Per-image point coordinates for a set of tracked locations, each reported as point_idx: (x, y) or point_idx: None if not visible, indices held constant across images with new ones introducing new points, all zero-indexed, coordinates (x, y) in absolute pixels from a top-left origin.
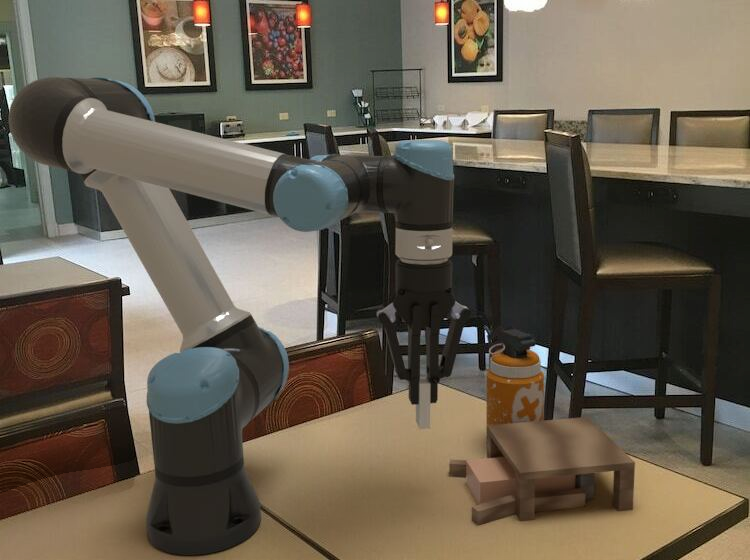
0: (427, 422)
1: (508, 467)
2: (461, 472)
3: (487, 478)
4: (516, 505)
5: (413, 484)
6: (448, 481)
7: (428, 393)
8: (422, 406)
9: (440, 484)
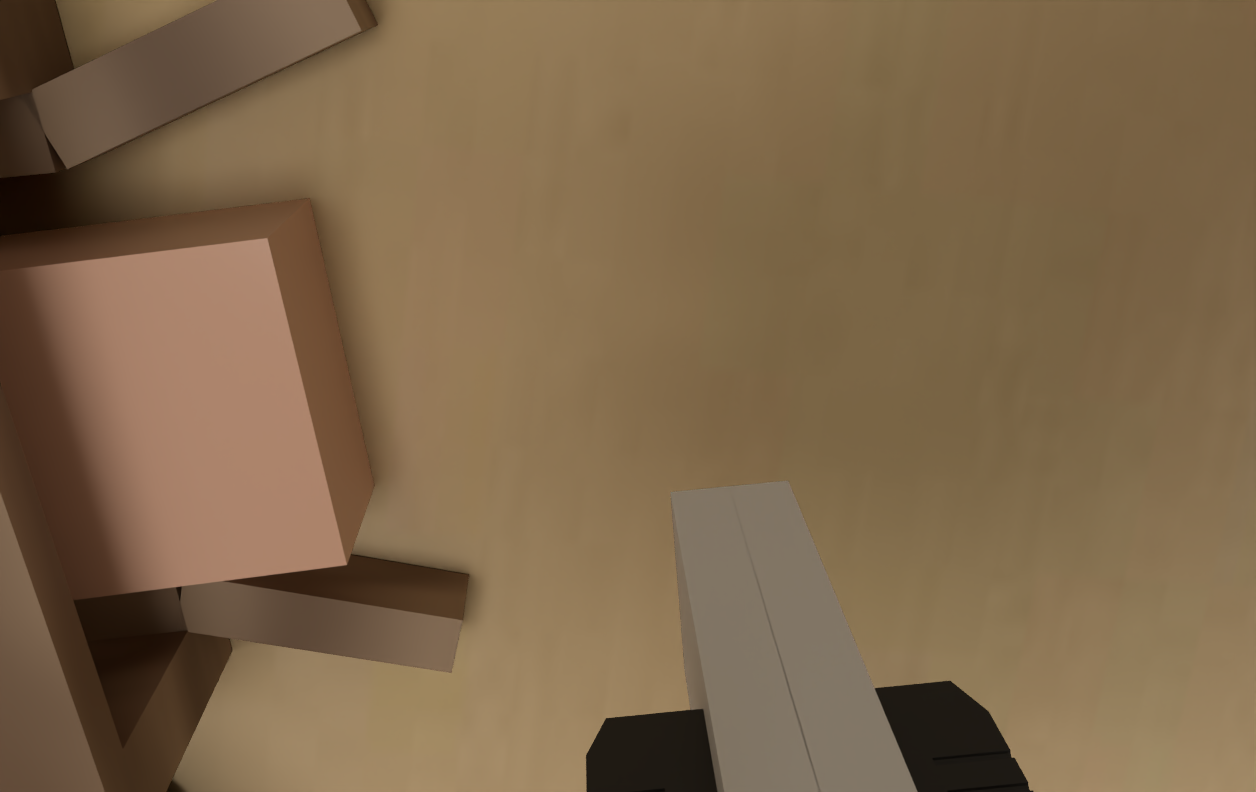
0: (707, 523)
1: (40, 447)
2: (392, 577)
3: (206, 296)
4: (37, 63)
5: None
6: (481, 515)
7: (752, 778)
8: (808, 636)
9: (533, 484)
